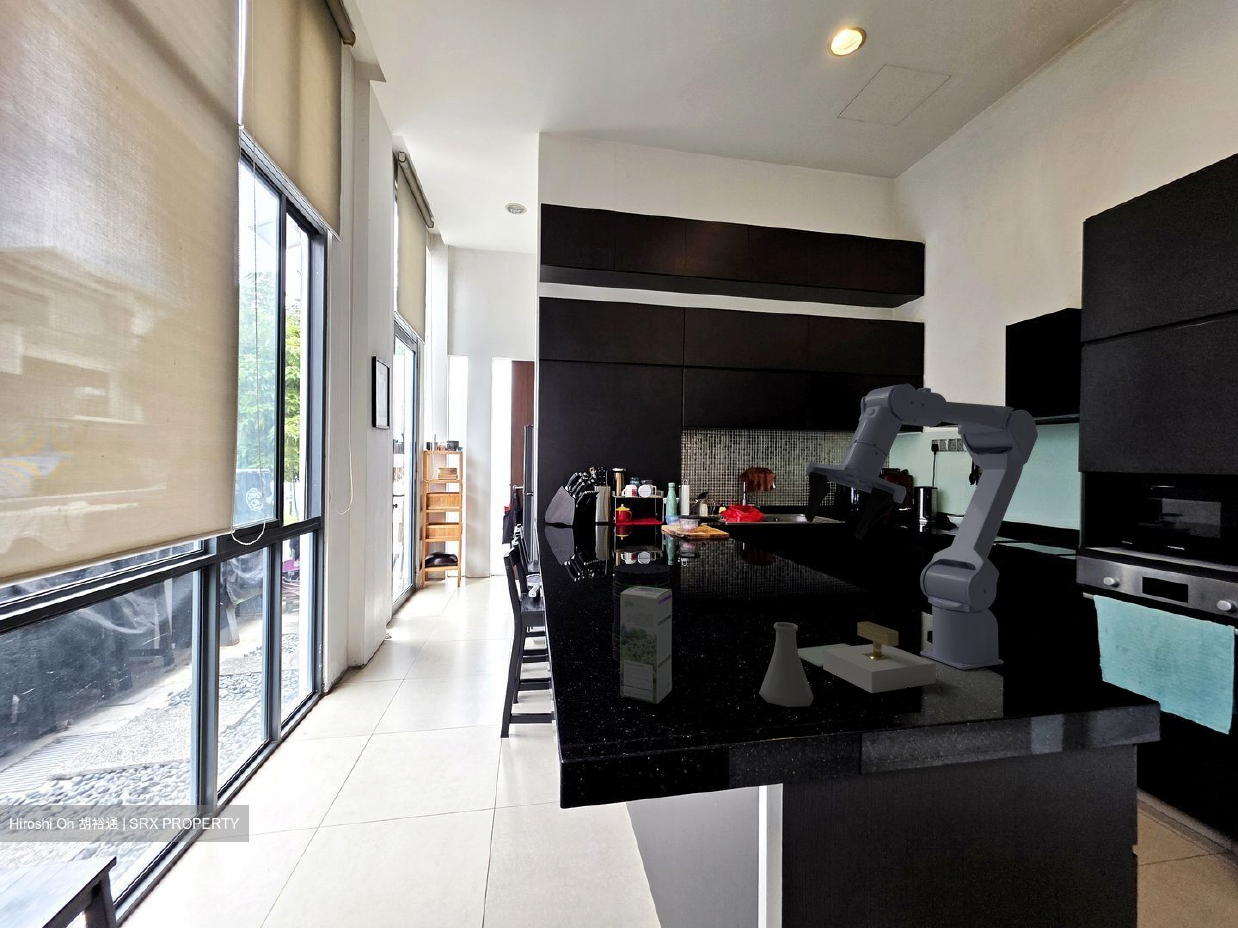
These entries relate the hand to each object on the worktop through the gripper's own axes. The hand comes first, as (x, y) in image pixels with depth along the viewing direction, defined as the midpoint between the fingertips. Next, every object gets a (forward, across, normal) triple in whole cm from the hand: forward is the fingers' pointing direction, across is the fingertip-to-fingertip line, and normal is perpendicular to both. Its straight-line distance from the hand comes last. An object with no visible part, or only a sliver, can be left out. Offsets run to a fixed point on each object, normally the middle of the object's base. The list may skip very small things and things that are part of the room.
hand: (832, 528), depth 80 cm
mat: (+15, +2, +21) cm, 26 cm away
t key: (+16, +11, +15) cm, 24 cm away
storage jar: (+32, -21, +4) cm, 38 cm away
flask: (+25, +4, +1) cm, 26 cm away
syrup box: (+34, -11, -8) cm, 37 cm away
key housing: (+16, +11, +15) cm, 24 cm away
